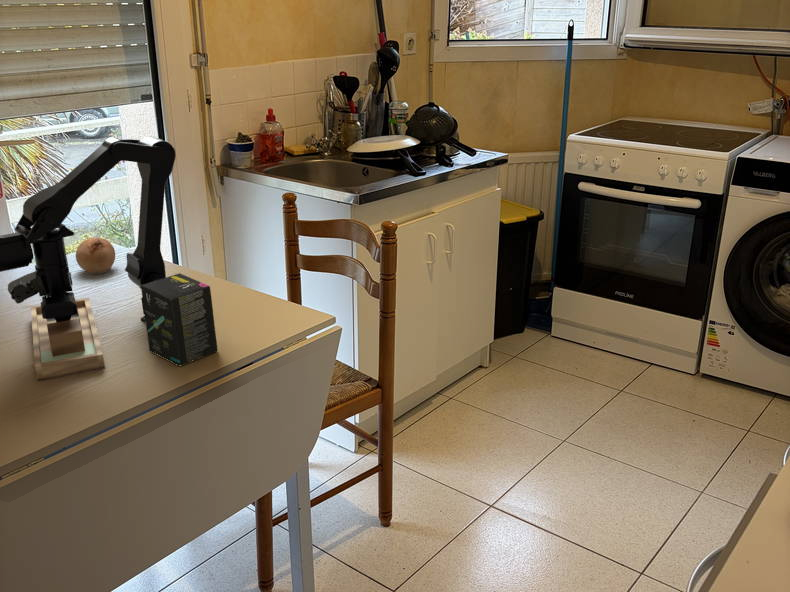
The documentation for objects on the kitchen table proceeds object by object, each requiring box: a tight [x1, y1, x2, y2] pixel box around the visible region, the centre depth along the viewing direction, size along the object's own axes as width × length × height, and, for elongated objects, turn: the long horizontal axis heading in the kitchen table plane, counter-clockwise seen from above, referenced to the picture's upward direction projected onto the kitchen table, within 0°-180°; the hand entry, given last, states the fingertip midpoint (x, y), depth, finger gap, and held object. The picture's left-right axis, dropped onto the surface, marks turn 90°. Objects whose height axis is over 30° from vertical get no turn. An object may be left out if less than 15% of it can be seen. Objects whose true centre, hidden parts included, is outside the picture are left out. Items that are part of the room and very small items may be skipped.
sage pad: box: [40, 343, 96, 363], centre depth 152 cm, size 8×10×1 cm
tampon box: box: [140, 273, 219, 366], centre depth 155 cm, size 11×9×15 cm
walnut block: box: [47, 319, 85, 357], centre depth 154 cm, size 6×6×4 cm
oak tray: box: [30, 297, 106, 381], centre depth 160 cm, size 30×12×3 cm, turn 25°
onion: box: [75, 236, 116, 274], centre depth 196 cm, size 10×9×10 cm
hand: (64, 331), depth 159 cm, fingers closed
